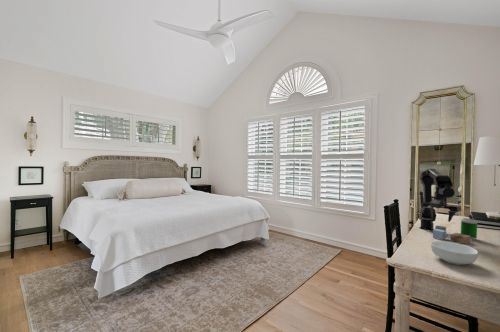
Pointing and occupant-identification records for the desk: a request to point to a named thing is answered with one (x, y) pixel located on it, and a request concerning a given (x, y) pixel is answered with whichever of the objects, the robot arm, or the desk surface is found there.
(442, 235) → the blue cube
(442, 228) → the charcoal cube
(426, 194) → the robot arm
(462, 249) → the cereal bowl
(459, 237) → the walnut plinth
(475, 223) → the soda can
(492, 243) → the desk surface
